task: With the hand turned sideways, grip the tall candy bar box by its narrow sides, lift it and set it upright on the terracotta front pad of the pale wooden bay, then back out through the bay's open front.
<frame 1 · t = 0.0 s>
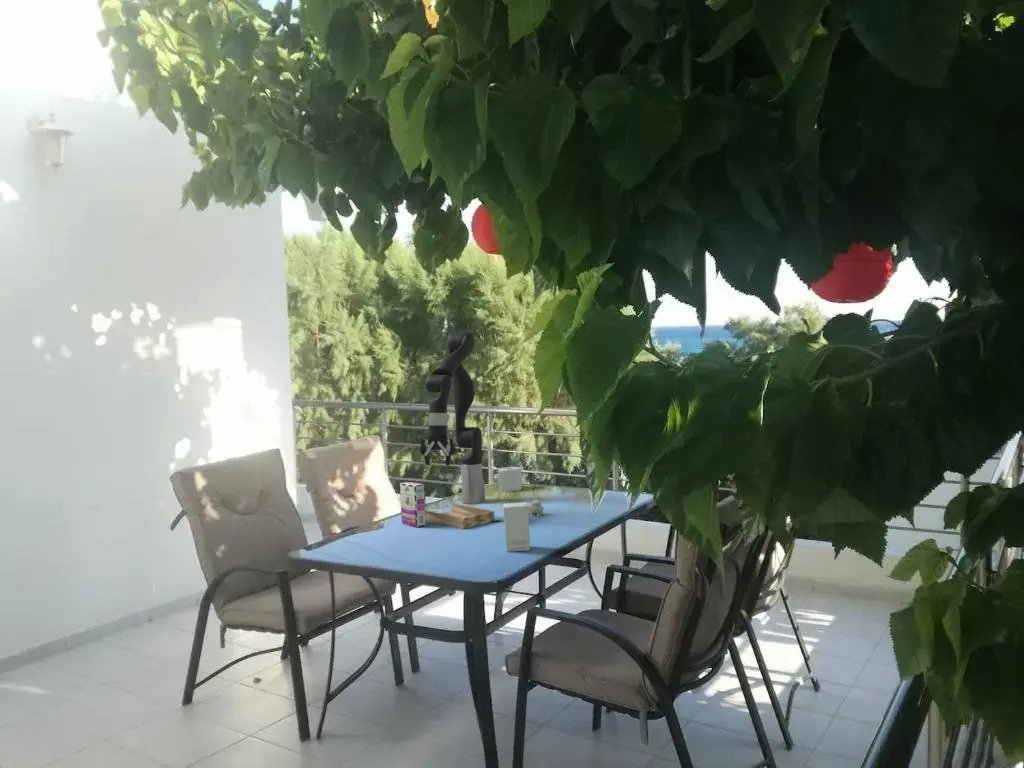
hand: (437, 465, 328), 22 cm above the table, tool pointing down, fingers open, 8 cm apart
toilet tissue: (510, 490, 388), on the table
skincare box: (517, 549, 281), on the table
candy bar box: (414, 525, 325), on the table
wooden bay: (458, 520, 329), on the table
toothbrush head: (527, 521, 324), on the table
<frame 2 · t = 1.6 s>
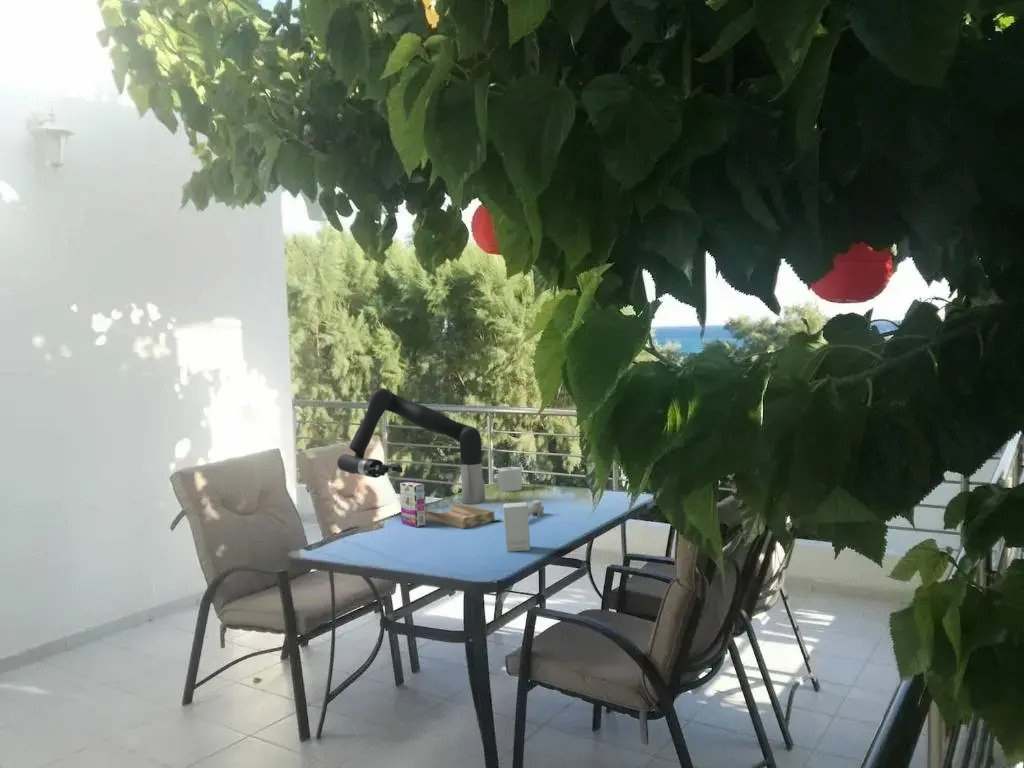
hand: (392, 471, 333), 20 cm above the table, tool horizontal, fingers open, 8 cm apart
nothing on the table moved.
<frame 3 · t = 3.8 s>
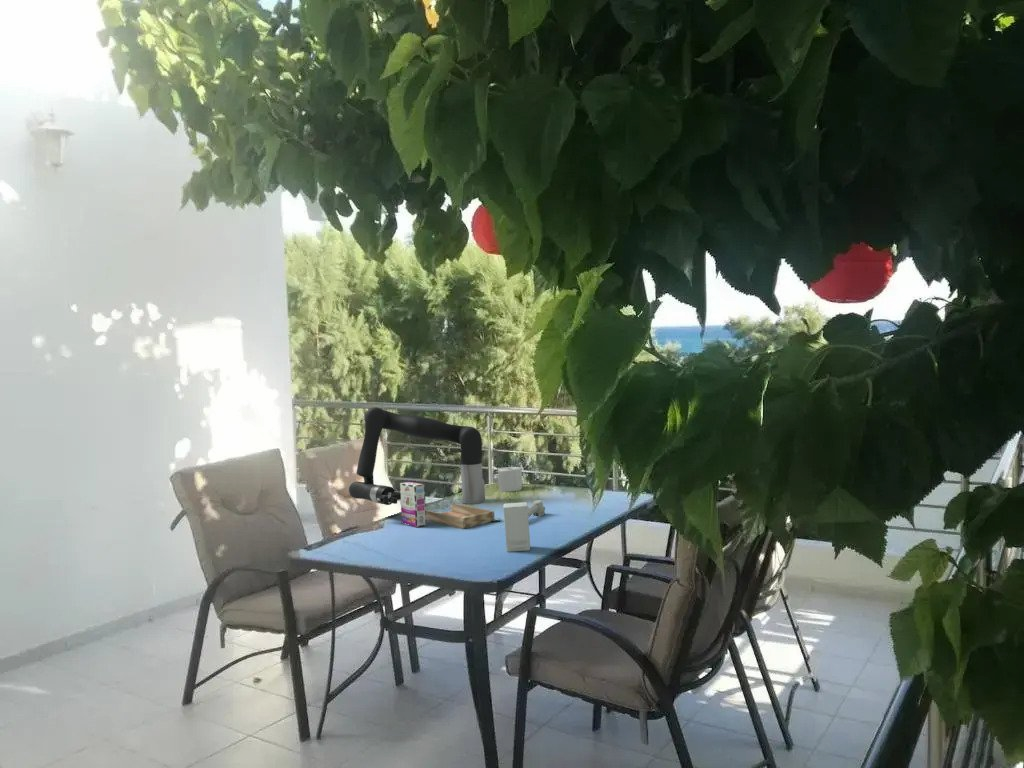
hand: (405, 499, 328), 9 cm above the table, tool horizontal, fingers open, 8 cm apart
nothing on the table moved.
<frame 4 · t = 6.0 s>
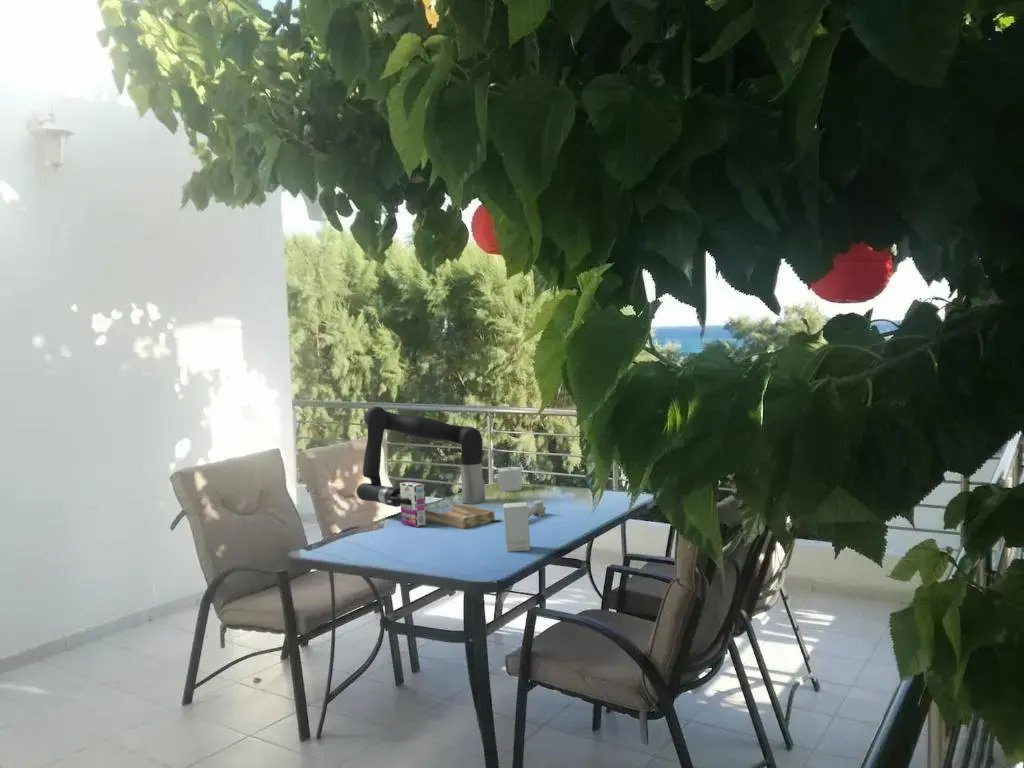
hand: (416, 501, 323), 10 cm above the table, tool horizontal, fingers closed on candy bar box, 5 cm apart
candy bar box: (414, 525, 325), on the table, touching gripper
everything else where it was.
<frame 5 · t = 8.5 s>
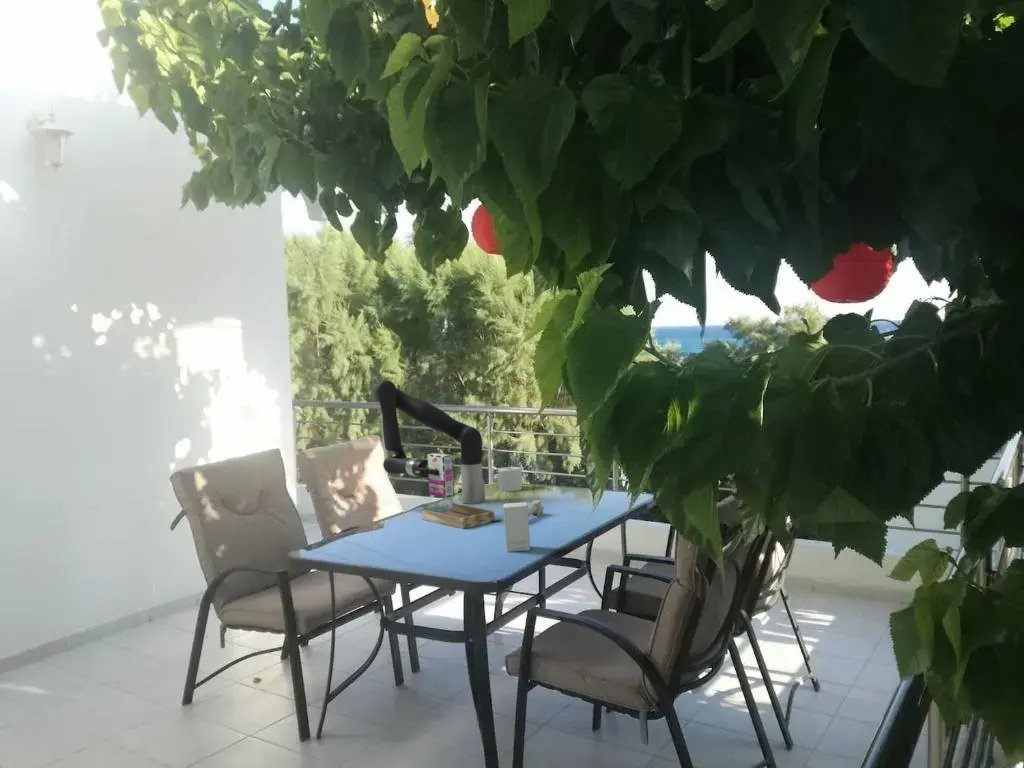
hand: (444, 471, 328), 20 cm above the table, tool horizontal, fingers closed on candy bar box, 5 cm apart
candy bar box: (441, 495, 331), point 10 cm above the table, touching gripper
everything else where it was.
when the fingers open (12 cm above the table, at t = 11.1 s): candy bar box stays where it is, resting on wooden bay.
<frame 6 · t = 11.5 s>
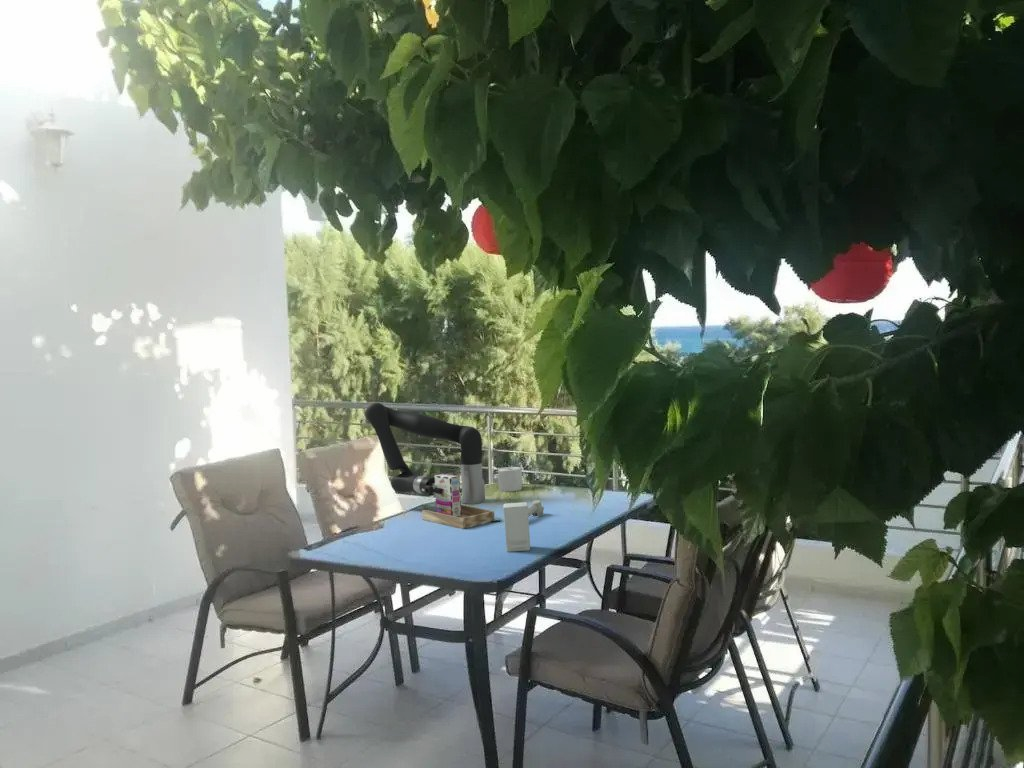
hand: (450, 489, 331), 12 cm above the table, tool horizontal, fingers open, 8 cm apart
candy bar box: (448, 516, 333), point 1 cm above the table, touching wooden bay
everything else where it was.
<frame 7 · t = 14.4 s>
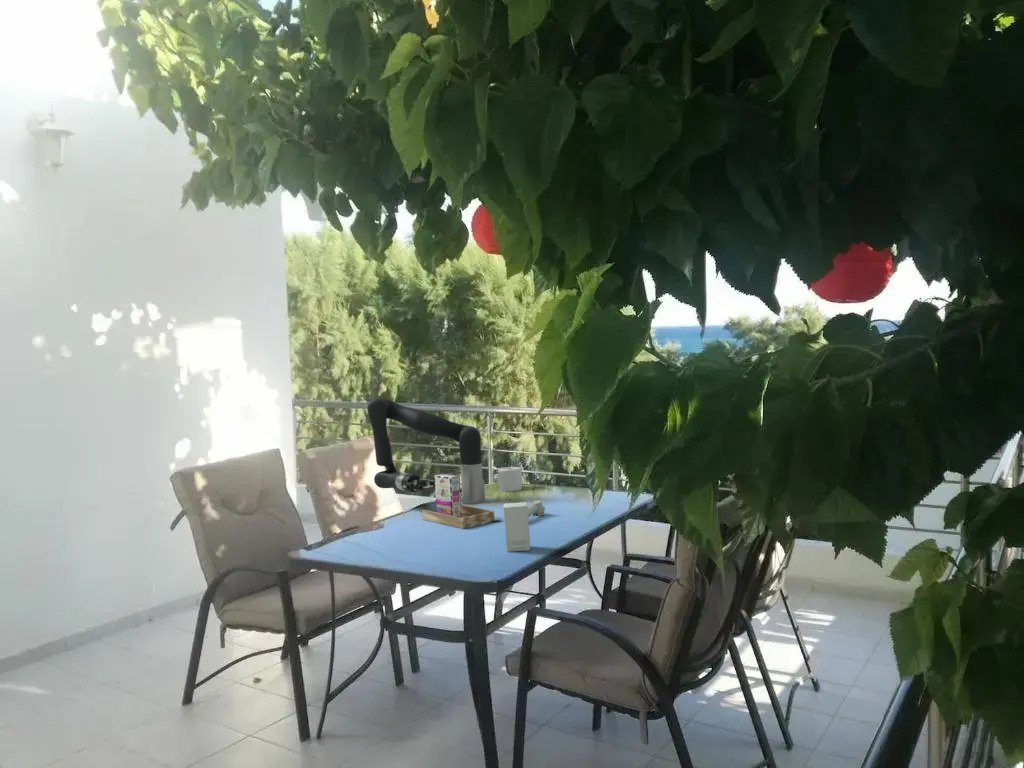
hand: (430, 486, 340), 12 cm above the table, tool horizontal, fingers open, 8 cm apart
nothing on the table moved.
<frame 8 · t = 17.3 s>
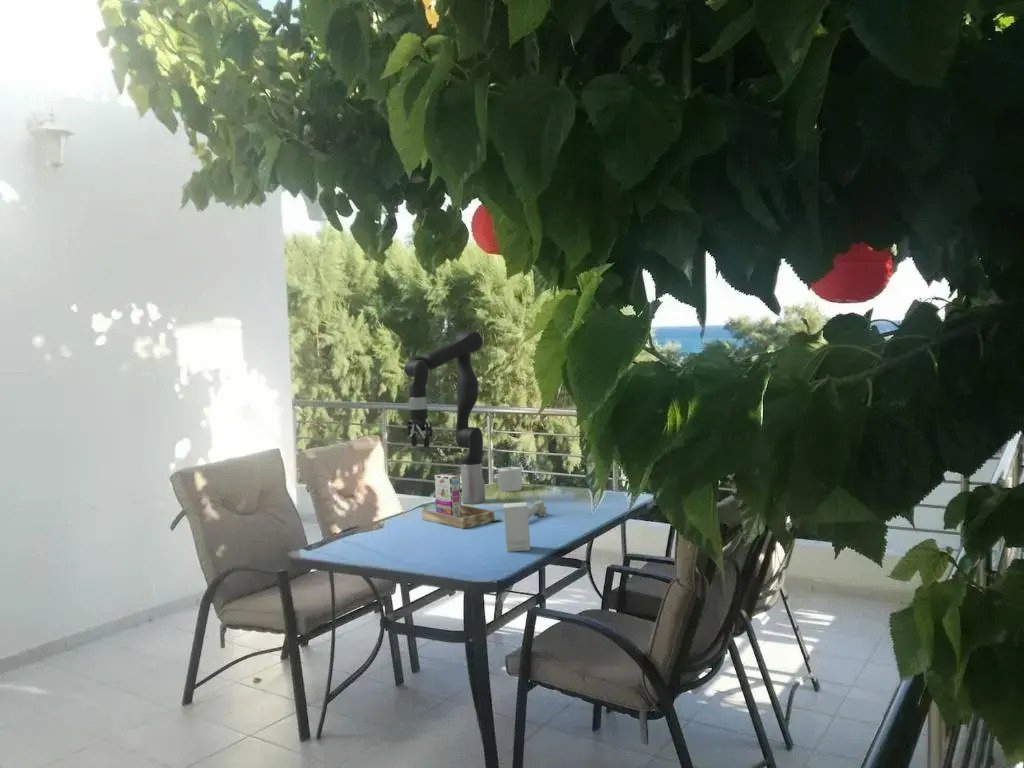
hand: (420, 446, 344), 28 cm above the table, tool pointing down, fingers open, 8 cm apart
at the end: candy bar box inside the target area on the wooden bay (0.3 cm from its centre), point 1.0 cm above the wooden bay's base; candy bar box tilted 0°; the gripper is holding nothing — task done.
